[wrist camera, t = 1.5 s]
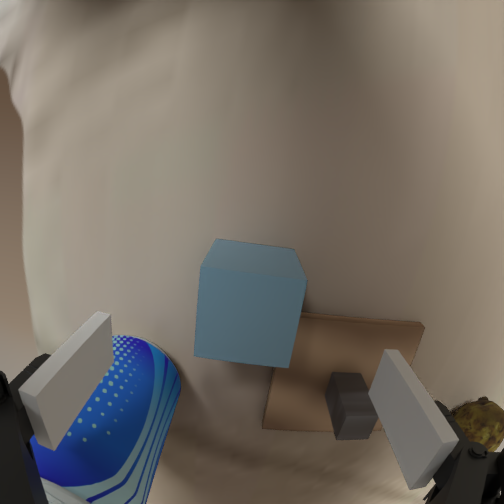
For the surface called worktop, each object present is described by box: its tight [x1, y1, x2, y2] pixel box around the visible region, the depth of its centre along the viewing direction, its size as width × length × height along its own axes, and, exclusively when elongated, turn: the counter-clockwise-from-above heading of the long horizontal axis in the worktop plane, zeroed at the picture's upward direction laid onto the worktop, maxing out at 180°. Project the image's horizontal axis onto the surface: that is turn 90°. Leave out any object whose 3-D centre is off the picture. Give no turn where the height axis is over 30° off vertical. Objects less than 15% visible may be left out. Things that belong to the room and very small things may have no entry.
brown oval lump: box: [453, 396, 504, 452], centre depth 24 cm, size 8×13×8 cm, turn 174°
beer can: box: [30, 335, 181, 504], centre depth 18 cm, size 8×8×16 cm
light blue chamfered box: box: [194, 239, 308, 368], centre depth 21 cm, size 6×6×7 cm
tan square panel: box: [262, 312, 425, 440], centre depth 23 cm, size 12×12×6 cm
